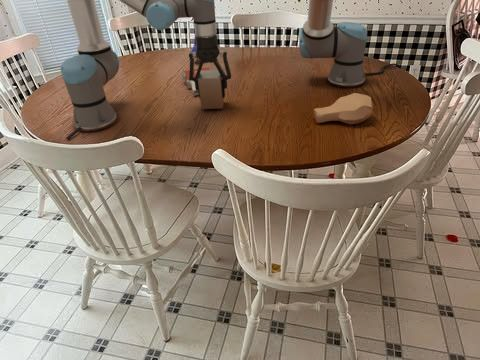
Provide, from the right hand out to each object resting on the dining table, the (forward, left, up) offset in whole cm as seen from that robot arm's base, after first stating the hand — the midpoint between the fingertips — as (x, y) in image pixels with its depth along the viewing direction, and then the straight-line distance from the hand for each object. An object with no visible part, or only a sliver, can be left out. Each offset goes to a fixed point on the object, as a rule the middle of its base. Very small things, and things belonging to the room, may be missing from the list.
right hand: (313, 0), depth 164 cm
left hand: (+61, +34, -22) cm, 74 cm away
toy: (+50, -28, -27) cm, 63 cm away
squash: (+23, +66, -27) cm, 74 cm away
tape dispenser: (+62, +10, -27) cm, 68 cm away
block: (+61, +34, -26) cm, 74 cm away
